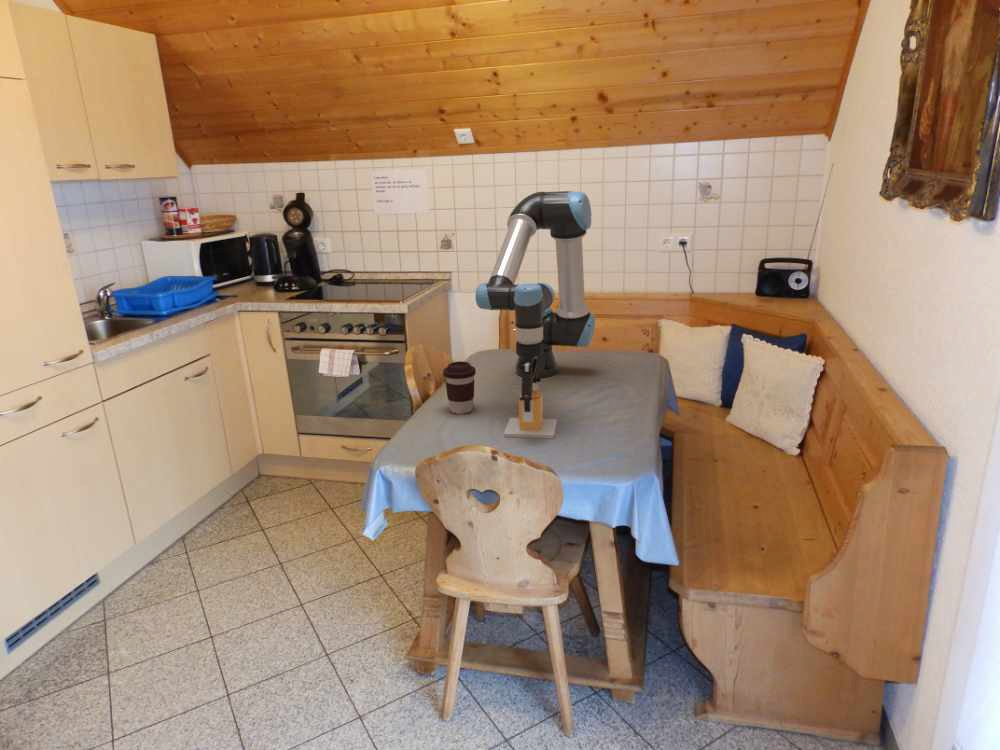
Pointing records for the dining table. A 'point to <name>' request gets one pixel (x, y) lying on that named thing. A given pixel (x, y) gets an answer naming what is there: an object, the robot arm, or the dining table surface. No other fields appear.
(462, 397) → the coffee cup
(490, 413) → the dining table surface
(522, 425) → the orange toy brick
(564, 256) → the robot arm
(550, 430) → the white pegged board
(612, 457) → the dining table surface
